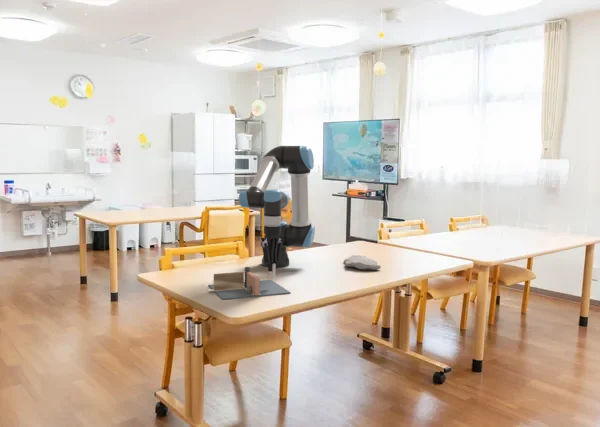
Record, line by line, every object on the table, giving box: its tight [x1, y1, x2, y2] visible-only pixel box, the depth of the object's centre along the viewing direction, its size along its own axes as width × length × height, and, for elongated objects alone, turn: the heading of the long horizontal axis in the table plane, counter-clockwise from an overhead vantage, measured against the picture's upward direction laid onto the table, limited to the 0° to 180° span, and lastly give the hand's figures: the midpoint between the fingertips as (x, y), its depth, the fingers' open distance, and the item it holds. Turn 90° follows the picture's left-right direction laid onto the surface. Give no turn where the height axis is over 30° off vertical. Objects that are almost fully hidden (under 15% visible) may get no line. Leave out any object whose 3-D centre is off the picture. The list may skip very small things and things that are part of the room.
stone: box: [343, 254, 382, 271], centre depth 285 cm, size 18×5×30 cm
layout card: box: [208, 279, 291, 301], centre depth 230 cm, size 24×32×4 cm
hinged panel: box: [247, 271, 261, 295], centre depth 224 cm, size 2×13×7 cm, turn 22°
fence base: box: [213, 266, 251, 290], centre depth 229 cm, size 2×16×9 cm, turn 113°
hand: (271, 277), depth 231 cm, fingers closed
